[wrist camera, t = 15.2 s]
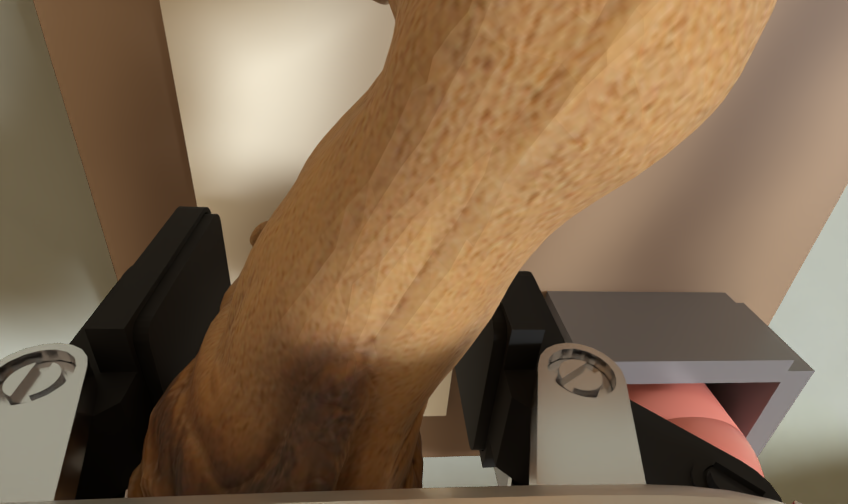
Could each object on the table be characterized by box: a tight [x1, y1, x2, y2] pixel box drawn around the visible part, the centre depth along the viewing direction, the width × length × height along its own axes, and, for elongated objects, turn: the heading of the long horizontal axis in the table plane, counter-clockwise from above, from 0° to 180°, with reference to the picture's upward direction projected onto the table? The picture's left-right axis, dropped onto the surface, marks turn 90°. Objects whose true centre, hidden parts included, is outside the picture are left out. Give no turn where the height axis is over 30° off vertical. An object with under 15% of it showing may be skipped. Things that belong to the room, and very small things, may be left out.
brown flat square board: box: [33, 0, 848, 457], centre depth 14 cm, size 20×20×1 cm
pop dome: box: [627, 383, 764, 477], centre depth 14 cm, size 5×5×6 cm
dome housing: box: [494, 291, 814, 486], centre depth 16 cm, size 7×7×3 cm
